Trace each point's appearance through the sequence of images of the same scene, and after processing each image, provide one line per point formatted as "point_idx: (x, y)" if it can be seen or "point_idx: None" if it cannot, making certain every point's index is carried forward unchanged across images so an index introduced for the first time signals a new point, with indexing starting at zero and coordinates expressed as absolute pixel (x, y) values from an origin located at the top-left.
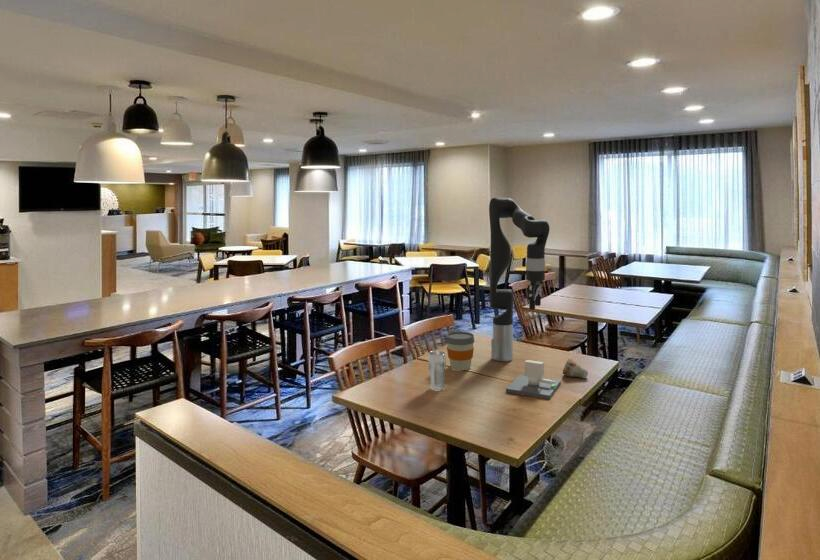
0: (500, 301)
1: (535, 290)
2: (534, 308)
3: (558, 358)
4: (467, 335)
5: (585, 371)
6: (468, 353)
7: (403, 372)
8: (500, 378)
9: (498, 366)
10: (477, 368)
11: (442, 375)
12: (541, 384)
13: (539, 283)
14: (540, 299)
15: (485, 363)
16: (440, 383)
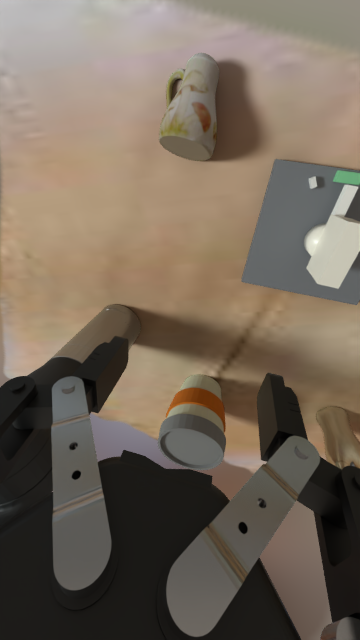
0: (51, 458)
1: (259, 559)
2: (283, 381)
3: (58, 192)
4: (173, 434)
5: (211, 60)
6: (214, 405)
7: (248, 457)
8: (253, 319)
9: (173, 327)
10: (198, 363)
11: (354, 436)
12: (320, 217)
13: (20, 598)
14: (100, 364)
15: (162, 351)
16: (349, 424)
